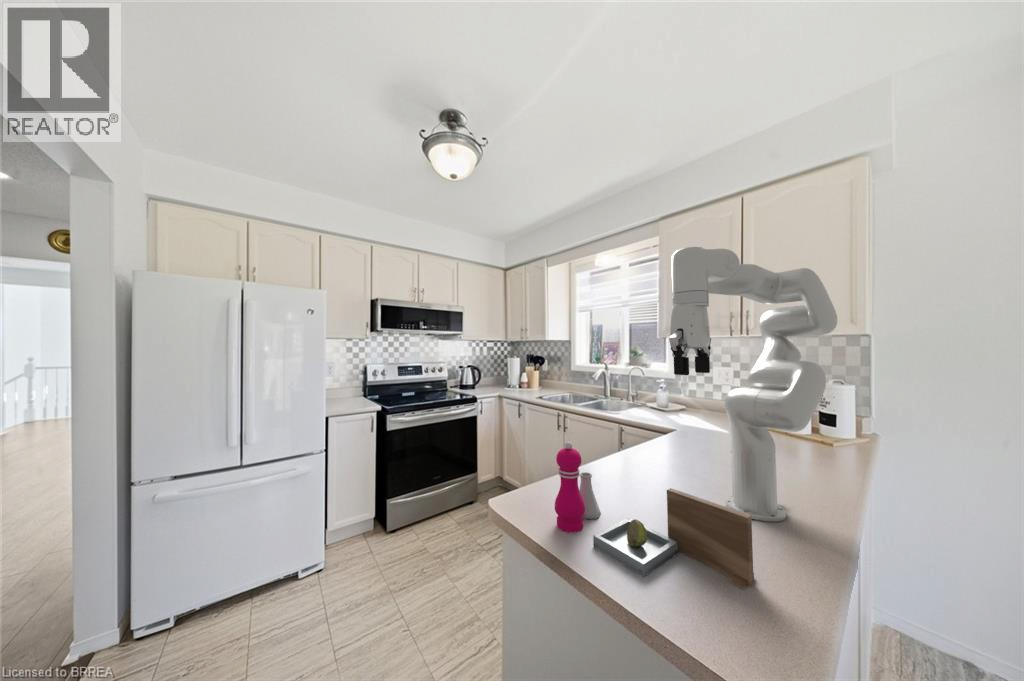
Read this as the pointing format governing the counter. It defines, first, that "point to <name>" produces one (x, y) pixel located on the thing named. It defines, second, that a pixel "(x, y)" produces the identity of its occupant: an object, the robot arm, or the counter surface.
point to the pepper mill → (569, 491)
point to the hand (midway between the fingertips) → (692, 373)
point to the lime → (636, 533)
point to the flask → (588, 497)
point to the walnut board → (712, 535)
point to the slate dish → (635, 548)
